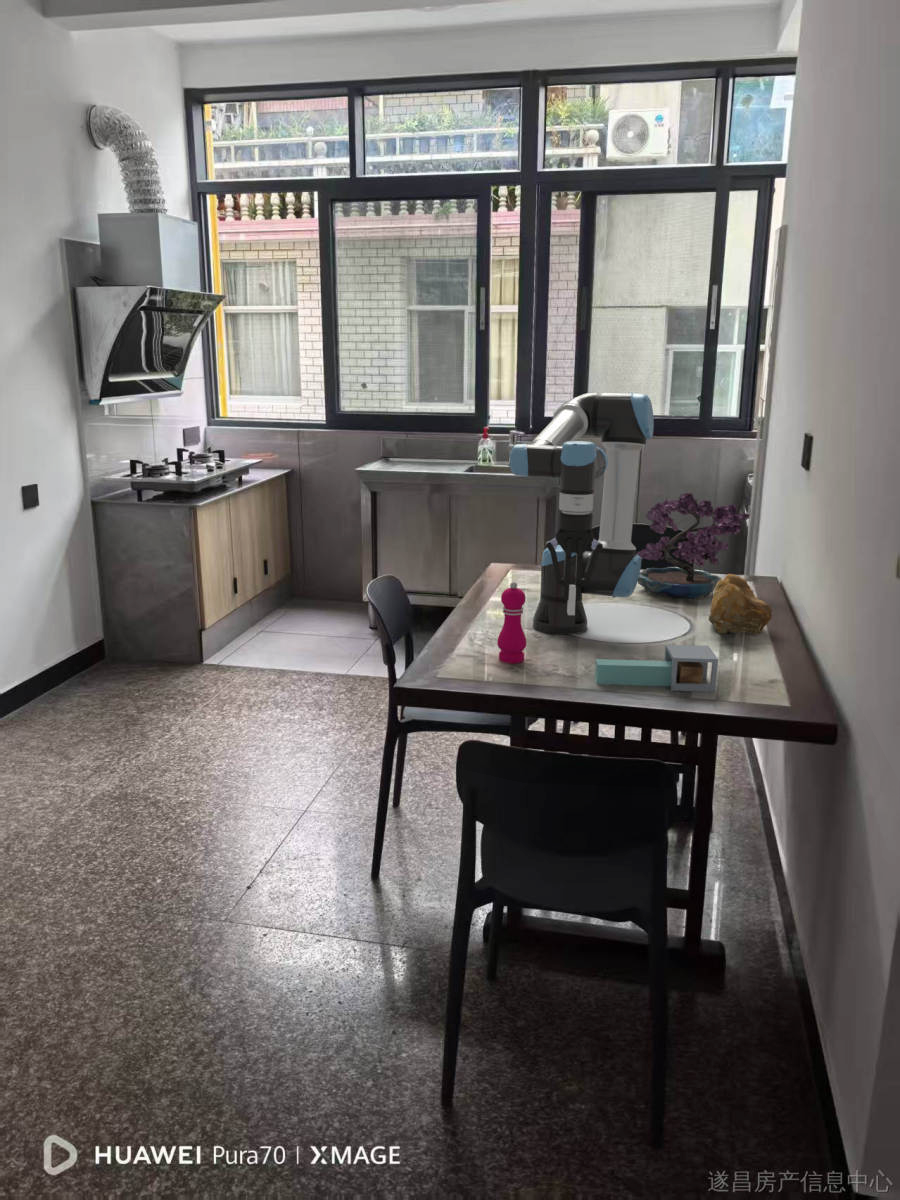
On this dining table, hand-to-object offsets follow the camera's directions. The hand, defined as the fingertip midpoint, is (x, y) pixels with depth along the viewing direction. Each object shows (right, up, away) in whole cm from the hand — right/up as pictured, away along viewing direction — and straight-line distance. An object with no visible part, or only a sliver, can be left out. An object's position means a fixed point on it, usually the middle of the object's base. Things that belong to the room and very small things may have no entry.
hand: (570, 613), depth 210 cm
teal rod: (+15, -16, +4) cm, 23 cm away
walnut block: (+28, -16, +3) cm, 32 cm away
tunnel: (+28, -16, +3) cm, 32 cm away
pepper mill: (-12, -12, +18) cm, 25 cm away
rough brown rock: (+53, -5, +46) cm, 71 cm away
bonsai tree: (+49, +5, +87) cm, 100 cm away
